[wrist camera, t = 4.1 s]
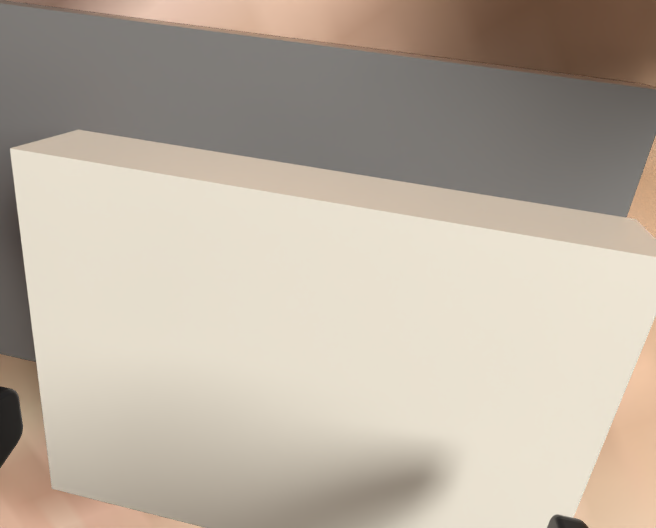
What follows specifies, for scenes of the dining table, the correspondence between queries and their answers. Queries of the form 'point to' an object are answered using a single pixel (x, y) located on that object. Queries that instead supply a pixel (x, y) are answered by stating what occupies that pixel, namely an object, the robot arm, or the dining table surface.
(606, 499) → the dining table surface
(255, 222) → the cream rectangular block
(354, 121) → the key panel
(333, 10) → the dining table surface
